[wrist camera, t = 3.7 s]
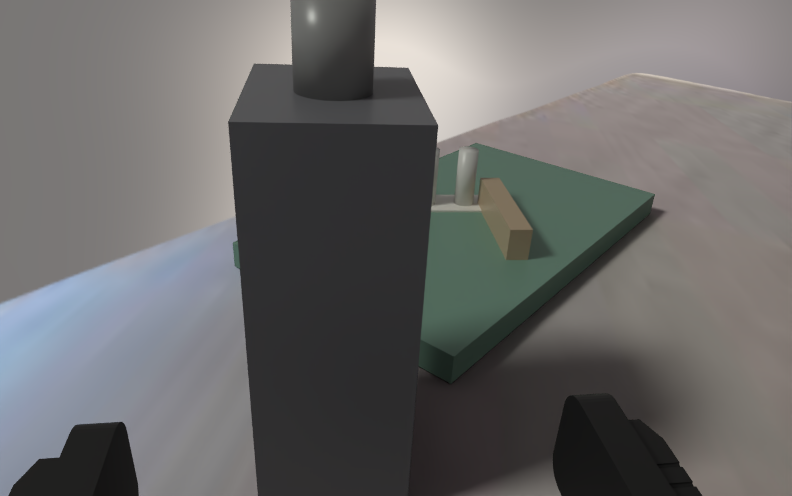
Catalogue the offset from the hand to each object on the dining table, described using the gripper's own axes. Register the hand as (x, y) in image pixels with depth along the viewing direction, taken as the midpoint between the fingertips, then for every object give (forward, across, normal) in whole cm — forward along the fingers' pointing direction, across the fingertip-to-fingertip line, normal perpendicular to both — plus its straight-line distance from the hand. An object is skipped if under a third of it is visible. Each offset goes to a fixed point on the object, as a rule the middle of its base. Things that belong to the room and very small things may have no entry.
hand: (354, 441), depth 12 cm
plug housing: (+6, 0, +6) cm, 8 cm away
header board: (+20, -7, +6) cm, 22 cm away
